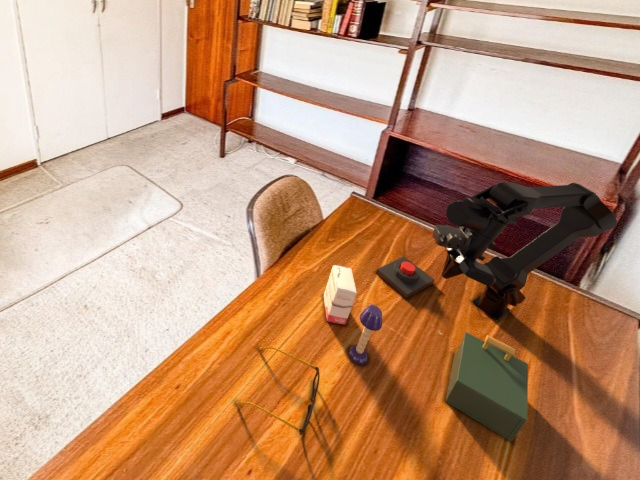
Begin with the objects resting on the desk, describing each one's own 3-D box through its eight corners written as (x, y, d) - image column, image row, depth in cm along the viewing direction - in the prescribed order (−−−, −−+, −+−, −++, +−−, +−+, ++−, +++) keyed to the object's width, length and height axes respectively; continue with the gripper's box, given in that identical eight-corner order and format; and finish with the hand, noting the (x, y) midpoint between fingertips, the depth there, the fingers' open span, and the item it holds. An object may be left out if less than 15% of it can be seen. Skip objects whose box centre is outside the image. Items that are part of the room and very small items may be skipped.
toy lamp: (371, 366, 92) (390, 318, 84) (352, 367, 91) (369, 319, 84) (362, 347, 96) (379, 299, 89) (343, 348, 96) (359, 300, 88)
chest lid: (464, 334, 93) (471, 321, 91) (526, 365, 86) (535, 352, 84) (455, 382, 82) (463, 369, 80) (525, 422, 76) (535, 409, 74)
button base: (402, 260, 122) (405, 251, 121) (432, 283, 114) (436, 275, 113) (375, 273, 117) (378, 264, 116) (406, 298, 109) (409, 289, 108)
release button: (405, 264, 117) (407, 260, 116) (416, 273, 114) (418, 268, 113) (397, 268, 115) (399, 263, 114) (408, 277, 112) (410, 272, 112)
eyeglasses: (304, 444, 77) (307, 433, 75) (235, 404, 83) (237, 393, 82) (319, 380, 88) (323, 369, 87) (258, 348, 95) (260, 337, 93)
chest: (454, 355, 95) (464, 336, 92) (513, 387, 88) (526, 368, 86) (445, 401, 85) (455, 382, 82) (511, 442, 79) (525, 422, 76)
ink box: (347, 326, 101) (357, 293, 96) (326, 322, 102) (336, 289, 97) (342, 298, 109) (351, 266, 104) (323, 294, 110) (331, 263, 104)
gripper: (436, 197, 104) (403, 241, 109) (466, 239, 86) (425, 288, 92) (477, 215, 103) (441, 259, 108) (516, 261, 85) (471, 310, 91)
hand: (443, 277), depth 100 cm, fingers closed
